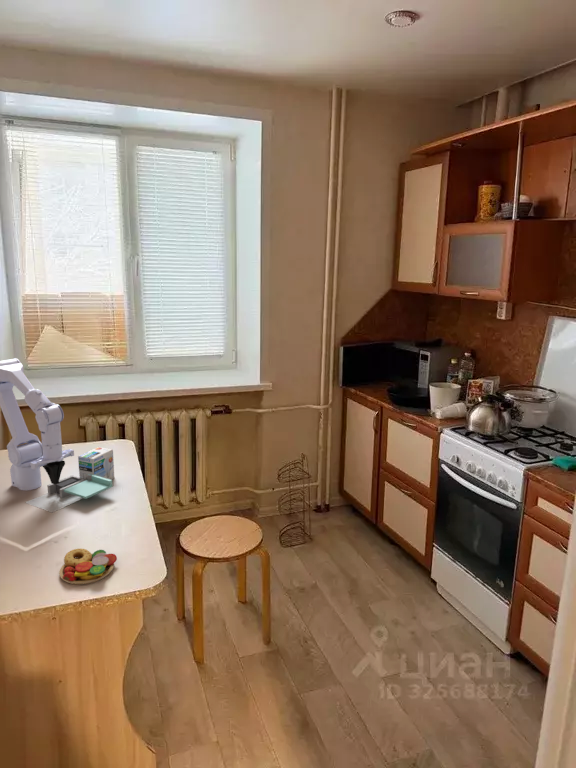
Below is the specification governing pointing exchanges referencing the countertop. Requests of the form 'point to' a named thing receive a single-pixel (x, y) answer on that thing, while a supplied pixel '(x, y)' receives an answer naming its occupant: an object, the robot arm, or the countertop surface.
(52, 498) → the board
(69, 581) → the toy food set
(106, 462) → the light bulb box
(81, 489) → the cover
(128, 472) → the countertop surface
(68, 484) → the grey rectangular prism
